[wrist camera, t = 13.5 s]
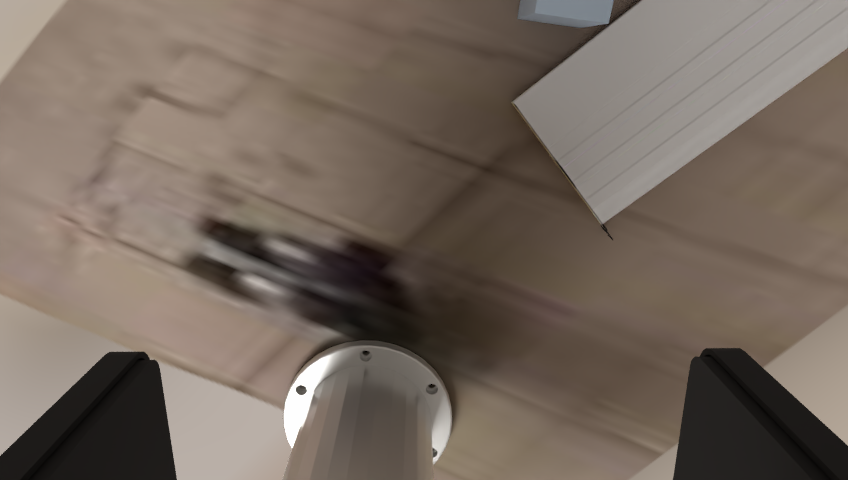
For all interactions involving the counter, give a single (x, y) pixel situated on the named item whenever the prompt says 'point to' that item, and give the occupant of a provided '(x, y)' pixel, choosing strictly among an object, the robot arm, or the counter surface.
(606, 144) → the baseboard molding
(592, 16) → the slate slat
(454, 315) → the counter surface
